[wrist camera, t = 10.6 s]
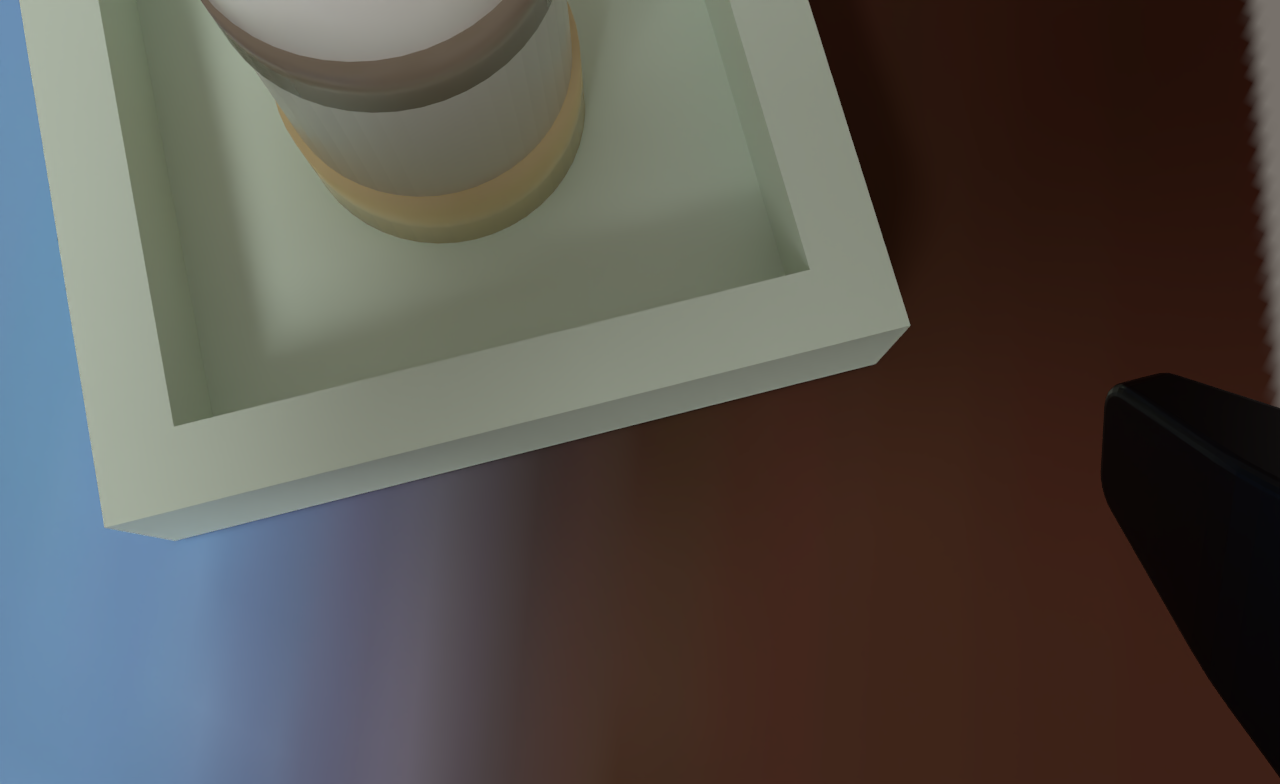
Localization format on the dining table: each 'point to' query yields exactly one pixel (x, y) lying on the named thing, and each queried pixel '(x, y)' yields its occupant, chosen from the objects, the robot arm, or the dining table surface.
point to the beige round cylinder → (422, 103)
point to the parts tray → (438, 262)
